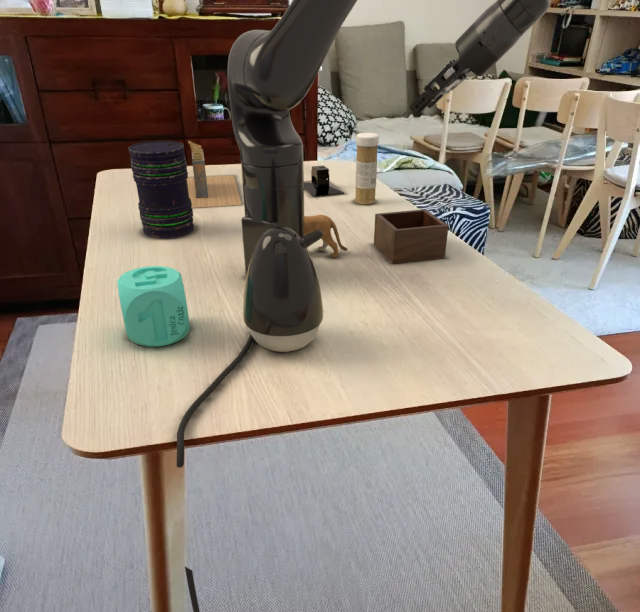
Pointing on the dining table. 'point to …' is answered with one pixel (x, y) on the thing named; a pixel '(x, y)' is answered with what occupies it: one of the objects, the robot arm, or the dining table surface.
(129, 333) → the decorative dice
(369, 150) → the sprinkles bottle
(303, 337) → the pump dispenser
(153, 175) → the dark barrel
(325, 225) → the lion figurine
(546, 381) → the dining table surface
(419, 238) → the box
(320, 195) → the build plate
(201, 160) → the ruin model on sheet
